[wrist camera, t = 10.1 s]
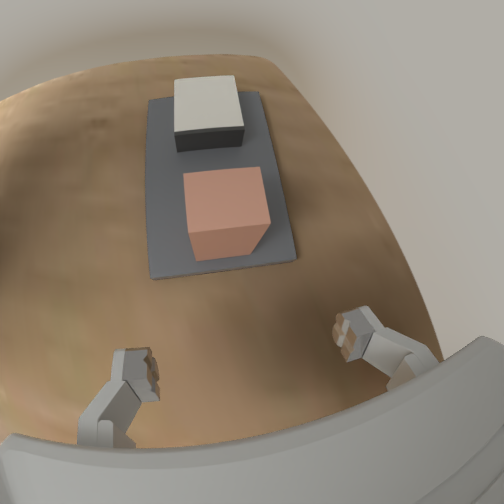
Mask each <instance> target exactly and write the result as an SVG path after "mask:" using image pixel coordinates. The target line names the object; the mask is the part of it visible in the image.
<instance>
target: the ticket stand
mask: <svg viewBox="0 0 504 504" xmlns="http://www.w3.org/2000/svg"><path fill="white" fill-rule="evenodd" d="M247 167H260V170H261V175H262V180H263V185H264V190H265V195H266V200H267V205H268V211H269V216H270V221H271V224H270V226H269V227H268V229H267V230H266V232H265V233H264V235H263V236H262V238H261V239H260V241H259V242H258V244H257V245H256V247H255V248H254V250H253V251H252V253H251V254H250V255H243V256H235V257H227V258H220V259H212V260H204V261H196V259H195V255H194V252H193V248H192V245H191V241H190V238H189V234H188V226H187V215H186V204H185V191H184V177H183V174H184V173H193V172H202V171H211V170H222V169H234V168H247ZM145 199H146V228H147V245H148V259H149V270H150V278H151V279H152V280H160V279H168V278H176V277H184V276H192V275H200V274H207V273H215V272H222V271H230V270H237V269H245V268H252V267H259V266H266V265H273V264H280V263H287V262H293V261H294V260H296V259H297V257H296V252H295V246H294V241H293V236H292V231H291V226H290V222H289V217H288V212H287V207H286V203H285V198H284V193H283V189H282V184H281V180H280V176H279V171H278V167H277V163H276V158H275V154H274V150H273V146H272V142H271V138H270V134H269V130H268V126H267V122H266V118H265V114H264V110H263V106H262V103H261V99H260V95H259V92H237V88H236V83H235V79H234V75H230V76H209V77H195V78H185V79H176V80H175V81H174V97H167V98H160V99H154V100H149V104H148V117H147V134H146V162H145Z"/></svg>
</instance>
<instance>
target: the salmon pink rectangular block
mask: <svg viewBox="0 0 504 504" xmlns="http://www.w3.org/2000/svg"><path fill="white" fill-rule="evenodd" d="M183 177H184V191H185V204H186V215H187V226H188V234H189V238H190V241H191V245H192V248H193V252H194V255H195V259H196V261H204V260H212V259H220V258H227V257H235V256H243V255H250V254H251V253H252V251H253V250H254V248H255V247H256V245H257V244H258V242H259V241H260V239H261V238H262V236H263V235H264V233H265V232H266V230H267V229H268V227H269V226H270V224H271V221H270V216H269V211H268V205H267V200H266V195H265V190H264V185H263V180H262V175H261V170H260V167H247V168H234V169H222V170H211V171H202V172H193V173H184V174H183Z"/></svg>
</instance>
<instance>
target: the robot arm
mask: <svg viewBox="0 0 504 504" xmlns="http://www.w3.org/2000/svg"><path fill="white" fill-rule="evenodd" d="M335 320H336V321H337V322H336V323H335V324H334V326H333V329H332V335H333V339H334V341H335V343H336V345H338V346H340V347H341V354H342V355H343V357H344V359H345V360H346V362H350V361H353V360H356V359H359V358H362V359H364V360H365V361H367V362H368V363H370V364H371V365H373V366H374V367H376V368H377V369H379V370H380V371H382V372H383V373H385V374H387V375H388V376H390V377H391V379H390V380H389V382H388V383H387V385H386V388H387V390H388V391H387V392H385V393H383V394H381V395H379V396H376V397H374V398H372V399H370V400H367V401H365V402H363V403H360V404H358V405H355V406H353V407H350V408H348V409H345V410H343V411H340V412H337V413H334V414H332V415H329V416H326V417H323V418H320V419H317V420H314V421H311V422H307V423H304V424H301V425H297V426H294V427H290V428H287V429H283V430H279V431H275V432H271V433H267V434H262V435H258V436H253V437H248V438H243V439H237V440H232V441H225V442H219V443H212V444H204V445H195V446H184V447H170V448H136V443H135V442H134V441H133V440H132V439H130V438H129V437H128V436H127V435H126V434H125V433H126V431H127V429H128V428H129V426H130V424H131V422H132V420H133V418H134V417H135V415H136V413H137V411H138V409H139V408H140V406H141V404H142V403H141V402H152V401H160V388H159V386H158V384H157V381H158V380H159V370H158V365H157V362H156V360H155V358H153V357H152V351H151V349H150V347H142V348H126V349H115V351H114V355H113V363H112V371H111V381H107V383H106V384H105V385H104V386H103V388H102V389H101V390H100V391H99V393H98V394H97V395H96V396H95V398H94V399H93V400H92V402H91V403H90V404H89V405H88V407H87V408H86V409H85V411H84V412H83V413H82V415H81V416H80V417H79V423H78V435H77V445H76V444H68V443H62V442H56V441H50V440H45V439H40V438H35V437H31V436H27V435H23V434H19V433H12V434H10V435H9V436H8V437H7V438H6V439H5V440H4V441H3V442H2V443H1V444H0V504H504V346H503V345H502V344H501V343H499V342H497V341H495V340H493V339H490V338H488V337H485V336H480V337H478V338H477V339H475V340H474V341H472V342H471V343H470V344H468V345H467V346H465V347H464V348H462V349H461V350H459V351H458V352H456V353H455V354H453V355H452V356H450V357H449V358H447V359H446V360H444V361H442V362H441V363H439V362H438V360H437V359H436V358H435V356H434V355H433V354H432V353H431V351H430V350H429V349H428V347H427V346H426V345H424V344H422V343H420V342H418V341H416V340H413V339H411V338H409V337H407V336H405V335H403V334H401V333H398V332H396V331H394V330H392V329H390V328H388V327H387V328H385V327H384V326H383V325H382V323H381V322H380V321H379V320H378V318H377V317H376V316H375V314H374V313H373V312H372V311H371V309H370V308H369V307H368V306H366V305H365V306H361V307H358V308H354V309H350V310H347V311H343V312H339V313H338V314H337V315H336V318H335Z"/></svg>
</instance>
